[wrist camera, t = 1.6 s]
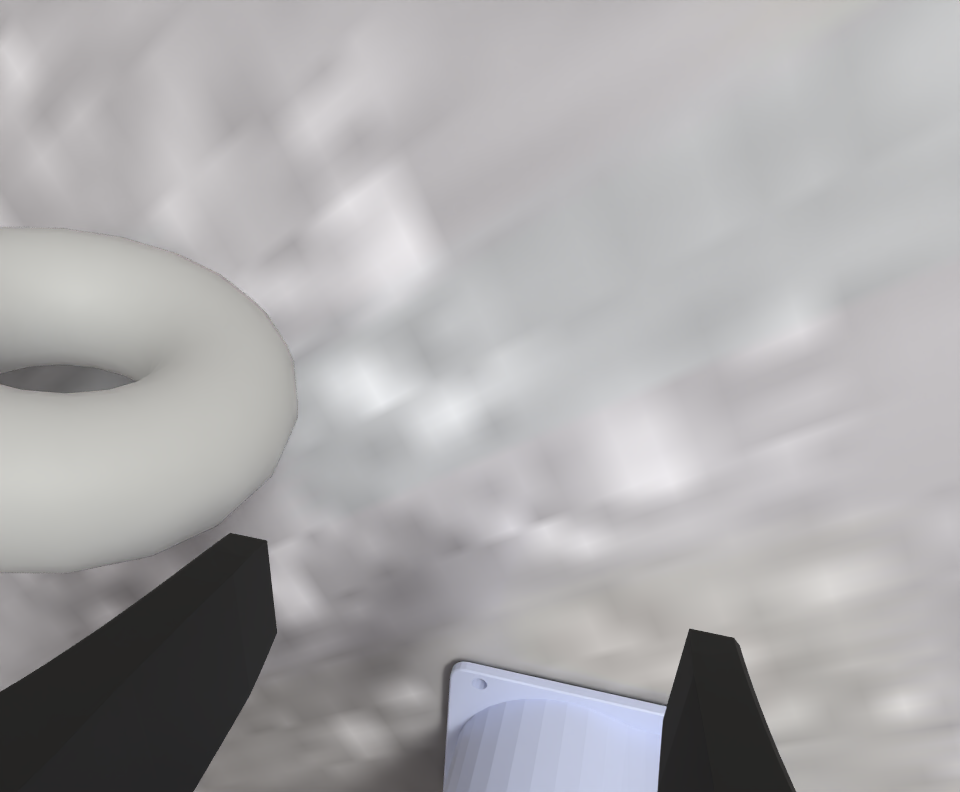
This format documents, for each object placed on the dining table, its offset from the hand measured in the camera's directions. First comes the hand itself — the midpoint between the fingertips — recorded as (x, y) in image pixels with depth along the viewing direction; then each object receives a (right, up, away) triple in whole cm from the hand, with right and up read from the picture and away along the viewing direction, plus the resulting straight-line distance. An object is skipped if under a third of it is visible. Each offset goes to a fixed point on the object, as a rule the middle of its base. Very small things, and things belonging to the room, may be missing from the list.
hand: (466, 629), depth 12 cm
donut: (-8, +7, +10) cm, 14 cm away
